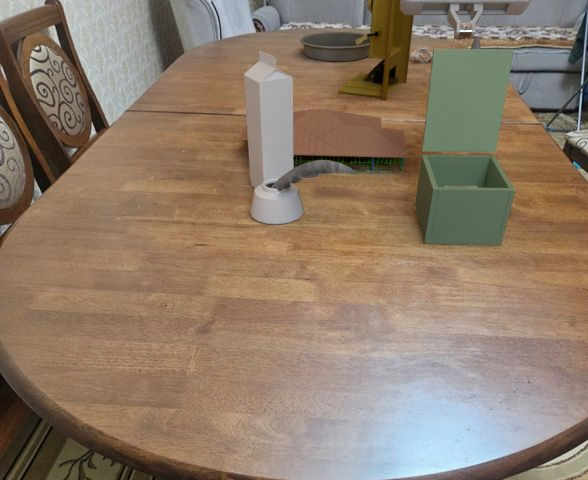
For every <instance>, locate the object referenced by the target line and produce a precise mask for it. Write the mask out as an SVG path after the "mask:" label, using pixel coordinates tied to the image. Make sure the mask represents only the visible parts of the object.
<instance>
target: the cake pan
mask: <svg viewBox="0 0 588 480" xmlns="http://www.w3.org/2000/svg"><path fill="white" fill-rule="evenodd" d="M366 34H367V33H366ZM366 34H365V33H359V32H350V31H329V32H319V33H318V32H317V33H312V34H311V33H310V34H307V35H305V36H303V37H301V38H300V39H299V42H300V43H301V44H302V45H303V50H304V54H305V56H306V57H308V58H309V59H313V60H317V61H323V62H351V61H358V60H359V61H360V60H362V59H365V58H367V57H369V45H370V36H369V38H368V39H366V40H363V41H362V42H361V43H360V44H358V45H357V44H356V41H355V40H356V39H358V38H361V37H363V36H364V35H366Z"/></svg>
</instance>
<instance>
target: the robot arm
mask: <svg viewBox="0 0 588 480" xmlns="http://www.w3.org/2000/svg"><path fill="white" fill-rule="evenodd" d="M531 2H532V0H401V1H400V10H401V11H402V13H403V14H404V15H414V16H446V21H447V23H448V24H449V25H450V27H451V29H452V30H453V39H454V40H459V39H460V40H474V38H475V35H476V26H477V25H478V23H479V22H480V19H481V17H482V16H521V15H523V14H524V12H525V11H526V10H527V9H528V8H529V6H530V4H531ZM459 16H470V17H469V19H470V21H461V18H460V17H459Z"/></svg>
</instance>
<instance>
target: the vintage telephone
mask: <svg viewBox="0 0 588 480" xmlns="http://www.w3.org/2000/svg"><path fill="white" fill-rule="evenodd" d="M400 1H401V0H366V8H367V10H368V11H369V12H370V14H371V17H370V29H369V31H370V32H368V33H366V35H364V36H363V37H361V38H358V39H356V40H355V41H356V44H357V45H358V44H360V43H361V42H362V41H363V40H366V39H368V38H369V36H370V45H369V56H368V57H369V59H376V60H381V61H380V62H378V63H377V64H376V65H375V66H374V67H373V69H371V70H370V71H369V72H359V73H358V74H356V75H355V76H353V77H352V78H350V79H349V80H347V81H346V82H345V83H343V85H342V87H341V88H340V89H339V90H338V93H339V94H344V95H352V96H360V95H361V96H362V97H369V98H377V99H378V98H379V99H381V100H382V101H387V99H388V94H389V93H390V92H391V91H393V90H394V89H395V88H396V87H397V86H398V85H400V84H407V81H408V72H409V71H408V70H409V62H410V55H411V44H412V36H413V26H414V18H415V15H404V14H403V13H402V11H401V10H400ZM361 96H360V97H361Z"/></svg>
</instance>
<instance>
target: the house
mask: <svg viewBox="0 0 588 480" xmlns="http://www.w3.org/2000/svg"><path fill="white" fill-rule="evenodd" d="M238 141H243V143H248V134H247V124H246V125H245V126H244V128H243V130H242V133H241V135H240V137H239V139H238ZM297 156H299V158H300V160H297V159H298V158H297ZM302 156H313V157H314V156H316V161H317V160H319V157H321V159H320V160H323V157H337V162H338V163H340V160H339V159H340V157H354V159H355V160H354V161H351V164H352V163H354V164H356V162H357V161H356V160H357V158H368V159H369V158H370V159H369V161H362V162H361V160H359V161H358V165H360V164H363V167H362V169H364V168H365V167H364V166H365V164H366V163H367V164H371V169H368V168H369V166H367V169H366V172H367V173H368V172H373V173H387V168H385V170H384V171H382V167H383V165H381V168H380V171H379V170H374V164H375V162H376V167H378V166H379V165H378V164H379V162H382V160H384V158H386V160H385V163H388V161H389V160H388V159H390V161H389V165H391V164H394V165H393V168H395V167H396V166H395V165H396V162H397V159H399V160H398V165H399V166H398V168H397V169H398V170H399V168H400V173H402V172H403V167H404V159H409V158H410V157H409V152H408V146H407V141H406V135H405V130H402V129H395V128H388V127H383V126H382V117H379V116H371V115H365V114H359V113H352V112H345V111H339V110H333V109H321V108H320V109H319V108H312V109H311V108H310V109H304V110H297V111H296V110H295V111H293V158H295V163H296V164H295V168H296V167H298V165H297V164H298V163H297V162H299V163H300V164H299V166H300V165H302ZM318 156H319V157H318ZM376 158H378V159H376ZM380 158H382V159H380ZM393 159H394V162H393ZM341 164H344V160H342V161H341ZM388 173H391V170H389V171H388Z"/></svg>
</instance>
